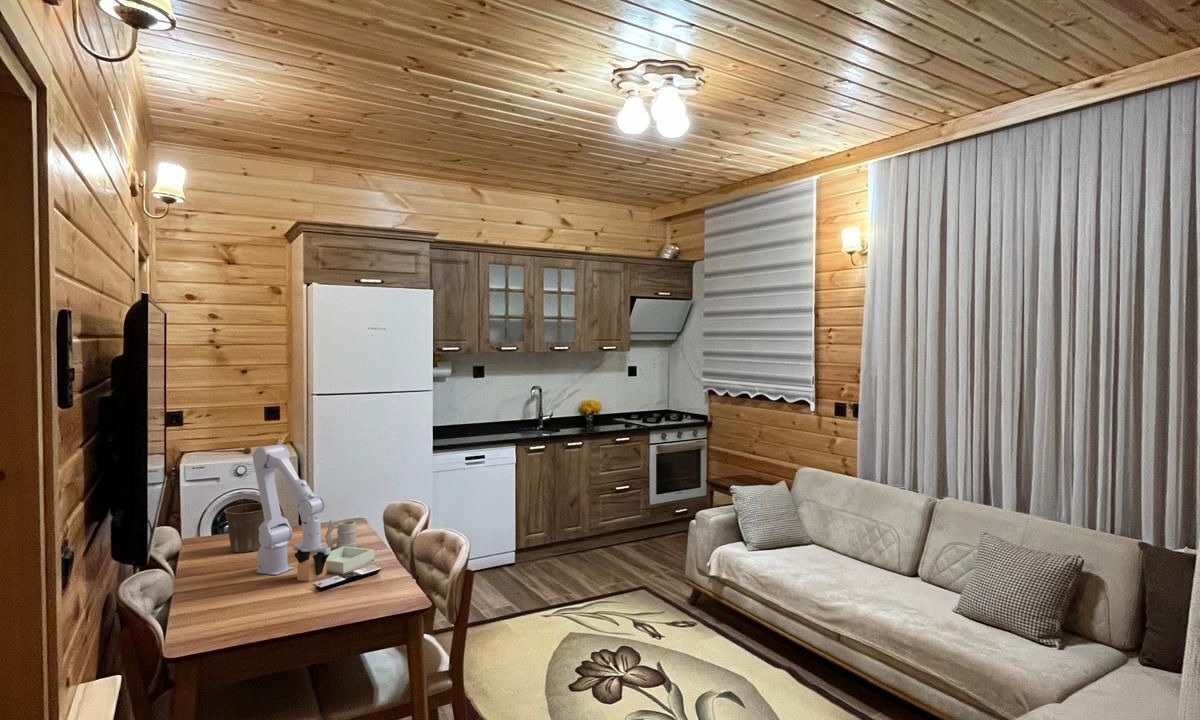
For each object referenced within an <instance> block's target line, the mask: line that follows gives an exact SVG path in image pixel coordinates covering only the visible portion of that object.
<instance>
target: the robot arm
mask: <svg viewBox="0 0 1200 720" xmlns="http://www.w3.org/2000/svg"><path fill="white" fill-rule="evenodd" d="M290 453H291V452H290V451H289V450H288V448H287V446H286V445H285V444H284V443H278V444H274V445H267V446H258V447H256V448H255V450H254V452H253V453H252V456H251V457H252V461H253V465H254V466H253V467H254V470H255V471H254V472H255V477H256V482H257V487H258V493H259V497H260V503H262V508H263V514H264V519H265V520H264V522H263V523H262V524H261V525H260V526H259V542H260V544H261V545H262V546H261V547H260V548H259V550H257V556H256V557H257V558H256V559H257V561H256V562H257V570H255V573H258V574H265V575H272V576H277V575H280V574H282V573H286V572H288V571H291V570H293V569H294V566H290V565H289V566H288V562H289V561H288V544H290V541H291V540H292V538H293V529H292V527H291V526H290V522H289V520H288V519H287V518H286V517H284V516H282V512H281V508H280V507H281V505H280V503H279V502H280V501H279V496H278V491H277V487H276V482H275V475H274V473H275V470H276V469H277V470H278V472H279V473H281V475H282V476H283V477H284V478H285V480H286V481H287V482H288V484H289V489H288V490H289V492H290V493H291V495H292V497H293V498H294V500H295V501H296V502H297V504H298V507H297V511H298V514H299V516H300V520H301V524H302V527H301V528H302V530H301V531H302V543H295V544H293V545H292V550H293V551H295V553H294V556H295V558H296V560H297V562H298V564H299V563H301V562H304V561H306V560H309V559H310V555H311V553H315V554H313V555H312V558H313V559H314V561H315V567H316V575H320V574H322V572H323V568H324V565H325V562H326V560H327V558H328V556H329V554H330V553H331V551H332V547H331V548H330V547H329V546H326V545H324V544H322V538H321V537H322V536H321V535H322V534H321V533H322V531H321V530H322V528H321V524H322V523H321V519H322V518H321V513H323V511H324V509H325V502H324V500H323V498H322V497H321V496H319V495H317V494H316V493H314V492H313V490H312V489H311V487H310V486H309V483H307V481H306V480H305V479H301V478H300V477H299V475H298V473H297V471H296V470H295V468H294V466H293V464H292V462H291V460H290Z"/></svg>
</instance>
